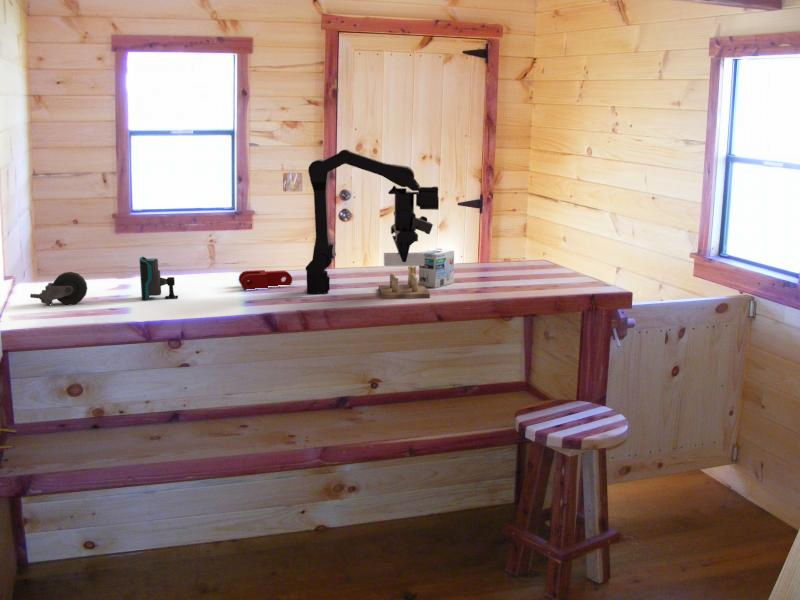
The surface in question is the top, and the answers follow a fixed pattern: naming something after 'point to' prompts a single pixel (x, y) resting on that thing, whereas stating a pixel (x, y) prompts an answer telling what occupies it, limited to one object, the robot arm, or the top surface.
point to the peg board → (403, 289)
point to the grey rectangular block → (412, 260)
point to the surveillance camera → (153, 279)
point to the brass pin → (411, 271)
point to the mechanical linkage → (263, 279)
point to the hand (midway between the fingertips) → (403, 261)
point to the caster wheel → (64, 289)
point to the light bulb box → (437, 268)
